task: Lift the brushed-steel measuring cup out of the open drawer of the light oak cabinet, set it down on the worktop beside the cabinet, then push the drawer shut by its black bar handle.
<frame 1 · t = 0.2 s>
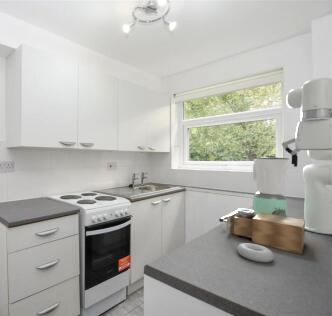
hand: (314, 167, 74), 31 cm above the worktop, tool pointing down, fingers open, 9 cm apart
juicer: (267, 227, 108), on the worktop
donut: (254, 257, 75), on the worktop
measuring cup: (245, 230, 96), point 2 cm above the worktop, touching drawer
cabinet: (278, 242, 88), on the worktop
drawer: (243, 224, 96), point 5 cm above the worktop, slide at 8.0 cm, touching measuring cup
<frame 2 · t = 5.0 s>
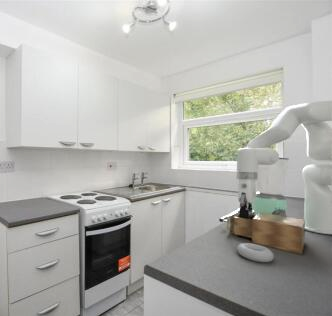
hand: (245, 217, 96), 8 cm above the worktop, tool pointing down, fingers closed on measuring cup, 6 cm apart
measuring cup: (245, 230, 96), point 2 cm above the worktop, touching drawer, gripper
everything else where it was.
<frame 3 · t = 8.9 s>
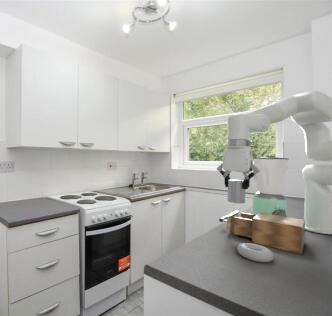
hand: (236, 187, 91), 21 cm above the worktop, tool pointing down, fingers closed on measuring cup, 6 cm apart
measuring cup: (236, 201, 91), point 15 cm above the worktop, touching gripper
drawer: (243, 224, 96), point 5 cm above the worktop, slide at 8.0 cm
everything else where it was.
when the fingers open (6 cm above the worktop, at t = 13.1 s): measuring cup stays where it is, on the worktop.
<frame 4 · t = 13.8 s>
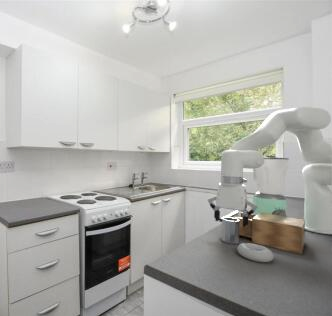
hand: (230, 223, 89), 7 cm above the worktop, tool pointing down, fingers open, 9 cm apart
measuring cup: (229, 241, 89), on the worktop
everything else where it was.
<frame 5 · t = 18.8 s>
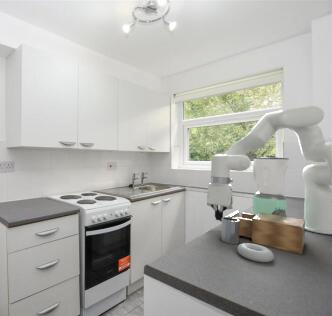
hand: (218, 219, 103), 5 cm above the worktop, tool pointing down, fingers closed
drawer: (244, 224, 96), point 5 cm above the worktop, slide at 7.6 cm, touching gripper
everything else where it was.
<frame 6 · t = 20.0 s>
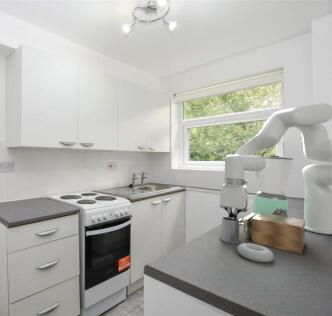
hand: (232, 222, 99), 4 cm above the worktop, tool pointing down, fingers closed
juicer: (267, 227, 108), on the worktop, touching arm
drawer: (261, 227, 92), point 5 cm above the worktop, slide at 1.8 cm, touching gripper
everything else where it was.
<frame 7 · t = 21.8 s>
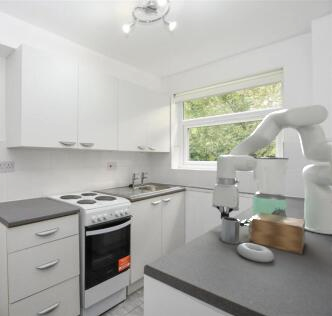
hand: (224, 221, 102), 4 cm above the worktop, tool pointing down, fingers closed
juicer: (267, 227, 108), on the worktop
drawer: (266, 228, 91), point 5 cm above the worktop, slide at 0.0 cm, touching cabinet
everything else where it was.
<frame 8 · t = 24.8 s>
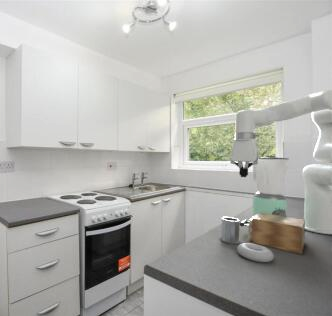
hand: (243, 176, 102), 25 cm above the worktop, tool pointing down, fingers closed
nothing on the worktop moved.
at the end: measuring cup inside the target area (0.1 cm from its centre), on the worktop; measuring cup tilted 0°; drawer slide at 0.0 cm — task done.
